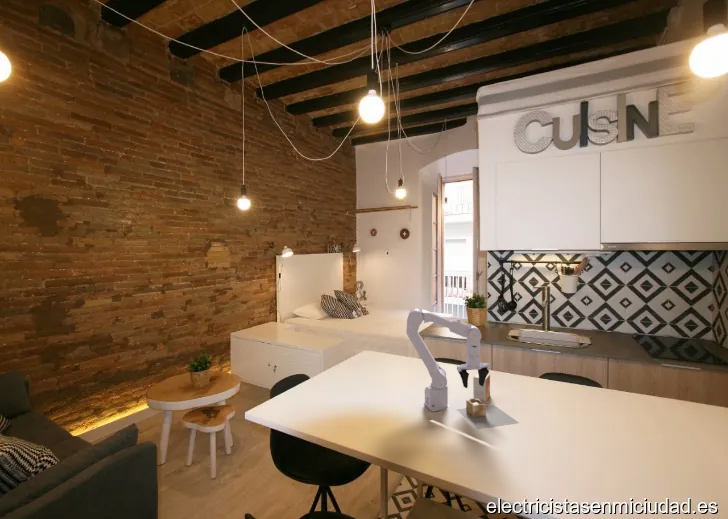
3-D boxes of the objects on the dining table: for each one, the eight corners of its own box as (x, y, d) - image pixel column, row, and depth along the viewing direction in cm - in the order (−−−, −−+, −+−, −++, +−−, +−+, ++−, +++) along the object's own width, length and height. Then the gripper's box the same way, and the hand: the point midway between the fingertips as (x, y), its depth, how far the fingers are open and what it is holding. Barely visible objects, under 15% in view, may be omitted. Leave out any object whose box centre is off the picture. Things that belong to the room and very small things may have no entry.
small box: (485, 402, 147) (485, 379, 147) (473, 399, 151) (473, 376, 150) (490, 396, 154) (490, 374, 154) (478, 393, 157) (478, 371, 157)
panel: (478, 430, 124) (478, 418, 124) (456, 411, 139) (456, 400, 139) (519, 424, 128) (519, 412, 128) (493, 406, 144) (493, 395, 144)
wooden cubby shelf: (473, 417, 132) (473, 404, 132) (466, 410, 138) (466, 399, 138) (486, 415, 134) (486, 403, 134) (478, 409, 139) (478, 397, 139)
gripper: (463, 358, 135) (463, 391, 136) (494, 356, 139) (493, 388, 139) (454, 353, 142) (454, 385, 142) (484, 351, 146) (484, 382, 146)
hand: (473, 386), depth 141 cm, fingers open, 7 cm apart
